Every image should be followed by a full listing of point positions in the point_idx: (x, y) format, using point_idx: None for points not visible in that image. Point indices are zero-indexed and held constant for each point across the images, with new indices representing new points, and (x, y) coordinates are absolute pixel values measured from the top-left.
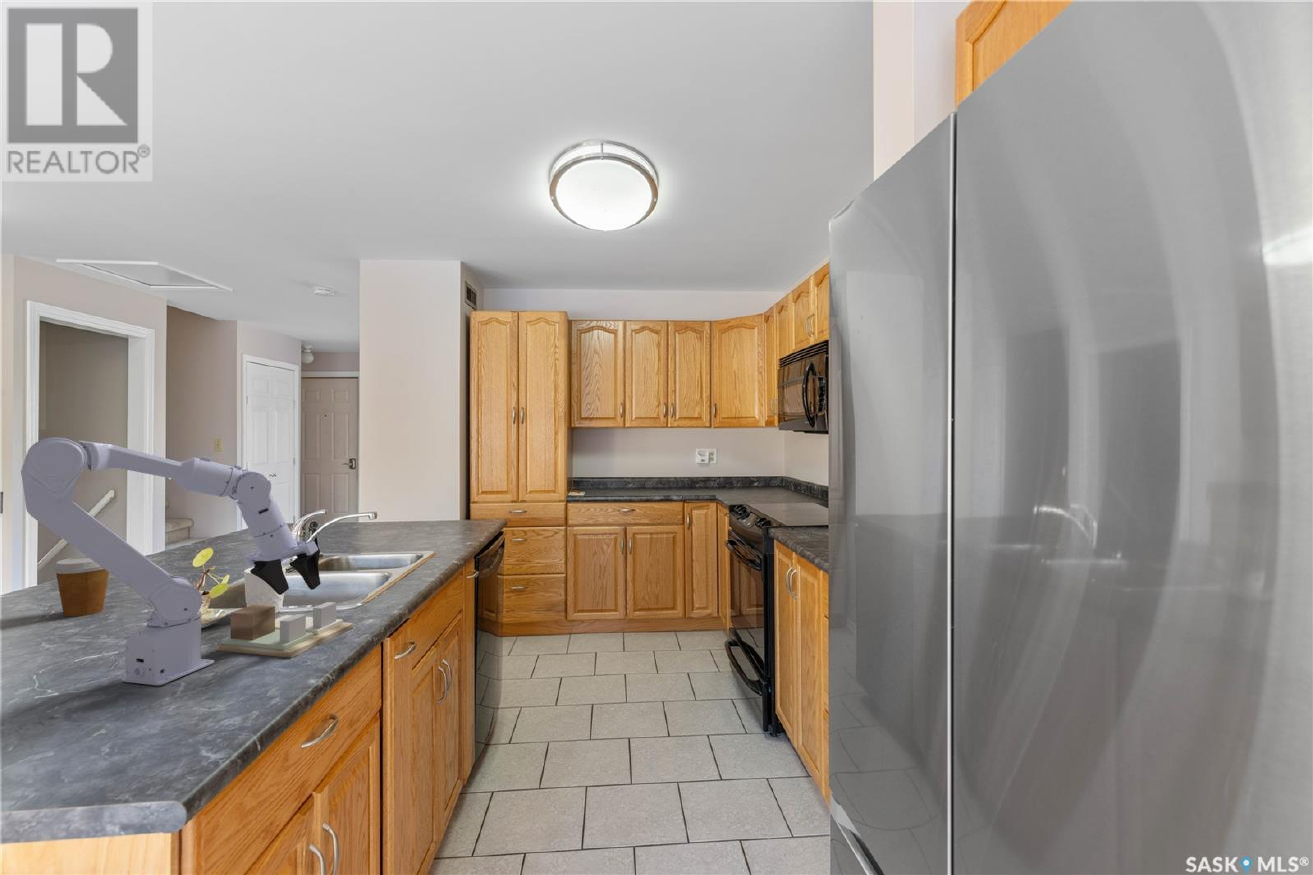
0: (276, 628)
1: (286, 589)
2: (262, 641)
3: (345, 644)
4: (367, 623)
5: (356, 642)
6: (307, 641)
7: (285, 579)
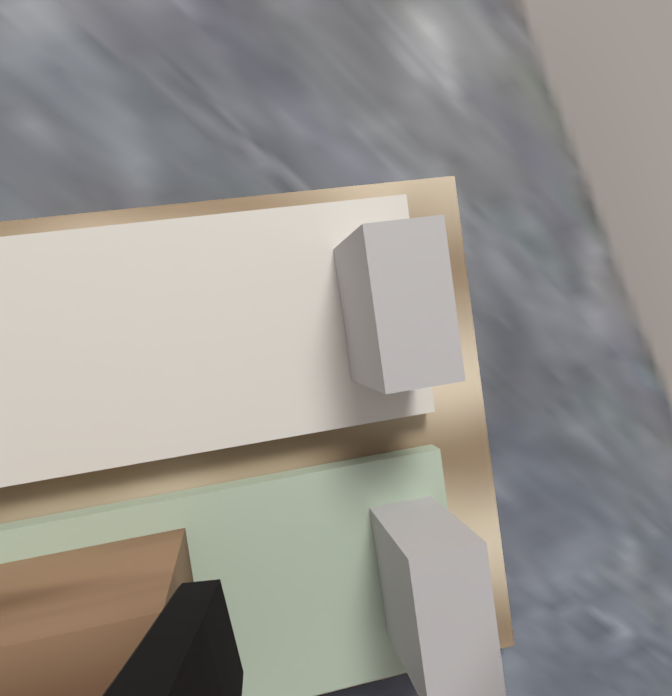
0: (113, 465)
1: (222, 616)
2: (286, 675)
3: (596, 395)
4: (453, 86)
5: (624, 353)
6: (458, 506)
7: (174, 688)
